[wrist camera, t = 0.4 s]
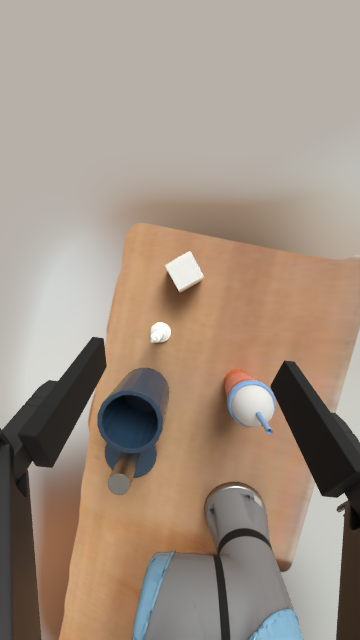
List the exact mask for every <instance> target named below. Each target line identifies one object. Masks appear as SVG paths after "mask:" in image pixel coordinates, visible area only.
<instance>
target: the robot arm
mask: <svg viewBox="0 0 360 640" xmlns="http://www.w3.org/2000/svg"><path fill="white" fill-rule="evenodd" d="M106 367H107V366H106V357H105V348H104V339H103V338H97V337H92V338H91V340H90V341H89V342H88V344H87V345H86V346H85V347H84V349H83V350H82V351H81V353H80V354H79V355H78V357H77V358H76V359H75V360H74V362H73V363H72V364H71V366H70V367H69V368H68V369H67V371H66V372H65V373H64V375H63V376H62V377H61V378H60V380H59V381H51V380H49V381H47V382H46V383H44V384H43V385H42V386H40V387H39V388H38V389H37V390H36V391H35V393H34V394H33V395H32V397H31V398H29V400H28V401H27V402H26V403H25V405H23V406H22V408H21V409H20V410H19V411H18V412H17V414H16V415H15V416H14V417H13V418H12V419H11V420H10V422H9V423H8V424H7V425H6V426H5V427H4V429H3V430H1V429H0V640H41V629H40V617H39V604H38V591H37V578H36V565H35V553H34V540H33V528H32V514H31V501H30V489H29V476H28V470H27V468H28V467H29V465H30V464H31V462H32V461H33V462H34V464H35V465H36V466H41V467H51V468H52V467H53V466H54V464H55V462H56V460H57V458H58V456H59V454H60V452H61V451H62V449H63V447H64V445H65V443H66V441H67V439H68V438H69V436H70V434H71V432H72V430H73V428H74V426H75V425H76V423H77V421H78V419H79V417H80V415H81V413H82V412H83V410H84V408H85V406H86V404H87V402H88V400H89V398H90V397H91V395H92V393H93V391H94V389H95V387H96V385H97V384H98V382H99V380H100V378H101V376H102V374H103V372H104V370H105V369H106ZM270 387H271V389H272V391H273V393H274V395H275V397H276V399H277V401H278V404H279V406H280V408H281V410H282V412H283V414H284V416H285V418H286V421H287V423H288V425H289V427H290V429H291V431H292V433H293V436H294V438H295V440H296V442H297V444H298V446H299V448H300V450H301V453H302V455H303V457H304V459H305V461H306V463H307V465H308V467H309V470H310V472H311V474H312V476H313V478H314V480H315V482H316V484H317V487H318V489H319V491H320V493H321V495H322V496H327V497H336V498H337V497H339V496H340V495H342V494H343V493H345V495H346V496H347V498H348V501H346V502H344V503H343V504H341V505H340V506H338V508H337V511H338V512H341V511H343V510H344V509H345V514H344V515H343V516H344V532H343V547H342V562H341V576H340V591H339V606H338V620H337V635H336V640H360V442H359V441H358V439H357V437H356V436H355V435H354V434H353V433H352V431H351V430H350V428H349V427H348V425H347V424H346V423H345V422H344V421H343V420H342V419H341V418H340V417H339V416H338V415H337V414H336V413H330V411H329V410H328V408H327V407H326V405H325V404H324V403H323V401H322V400H321V398H320V397H319V396H318V394H317V393H316V391H315V390H314V389H313V387H312V386H311V384H310V383H309V382H308V380H307V379H306V377H305V376H304V374H303V373H302V372H301V370H300V369H299V367H298V366H297V365H296V363H295V362H292V361H284V362H283V364H282V366H281V368H280V369H279V371H278V373H277V375H276V377H275V378H274V380H273V382H272V384H271V386H270ZM205 515H206V521H207V525H208V528H209V531H210V533H211V536H212V539H213V541H214V544H215V547H216V549H217V553H218V556H217V555H203V554H190V553H176V551H172V552H158V553H156V554H154V555H153V557H152V558H151V560H150V562H149V564H148V567H147V570H146V573H145V577H144V581H143V585H142V589H141V593H140V598H139V602H138V607H137V612H136V618H135V623H134V629H133V638H132V640H303V637H302V634H301V631H300V628H299V622H298V618H297V615H296V613H295V611H294V609H293V606H292V603H291V601H290V598H289V595H288V592H287V589H286V587H285V584H284V582H283V578H282V576H281V573H280V570H279V567H278V564H277V562H276V559H275V556H274V553H273V551H272V548H271V545H270V540H269V530H268V520H267V513H266V509H265V506H264V503H263V501H262V498H261V497H260V495H259V494H258V492H257V491H256V490H254V489H253V488H252V487H250V486H248V485H246V484H243V483H239V482H229V483H225V484H222V485H220V486H218V487H216V488H215V489H214V490H213V491H212V492H211V493H210V494H209V496H208V498H207V500H206V504H205Z"/></svg>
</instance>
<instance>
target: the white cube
mask: <svg viewBox="0 0 360 640" xmlns="http://www.w3.org/2000/svg"><path fill="white" fill-rule="evenodd" d="M165 267H166V269H167V270H168V272H169V274H170V276H171V278H172V280H173V281H174V283H175V285H176V287H177V289H178V290H179V292H182V291H184V290H186V289H188V288H189V287H191V286H193V285H195V284H196V283H198V282H200V281H202V279H203V278H204V276H203V274H202V272H201V270H200V268H199V266H198V264H197V263H196V261H195V259H194V257H193V255H192V253H191V251H189V252H187V253H185V254H184V255H182V256H180V257H179V258H177V259H175V260H173V261H172V262H170V263H168V264H166V265H165Z"/></svg>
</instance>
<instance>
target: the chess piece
mask: <svg viewBox="0 0 360 640" xmlns="http://www.w3.org/2000/svg"><path fill="white" fill-rule="evenodd" d="M170 334H171V330H170V328H169V326H168V325H167V324H165V323H163V322H159V323H156V324H154V325H153V326H152V328H151V336H150V339H151V343H153V342H154V343H157V342H165V341H166V340H168V339H169V337H170Z"/></svg>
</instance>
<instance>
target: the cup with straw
mask: <svg viewBox="0 0 360 640" xmlns="http://www.w3.org/2000/svg"><path fill="white" fill-rule="evenodd" d="M224 383H225V391H226V395H227V407H228V411H229V413H230V415H231V416H232V418H233V419H234V420H235V421H236V422H238V423H239V424H241V425H243V426H247V427H260V426H263V427H264V429H265V431H266V432H267V433H268V434H272V432H273V431H272V429H271V428H270V426H269V425H268V423H267V422H269V420H270V419H271V418H272V416H273V414H274V411H275V406H276V403H275V398H274V395H273V393H272V391H271V390H270V389H269V388H268V387H267V386H266V385H265V384H263V383H262V382H259V381H256V380H255V379H254V378H252V377H251V376H250V375H248V374H246V373H245V372H243V371H240V370H234V371H231V372H230V373H229V374H228V375H227V376H226V378H225V382H224Z"/></svg>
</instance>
